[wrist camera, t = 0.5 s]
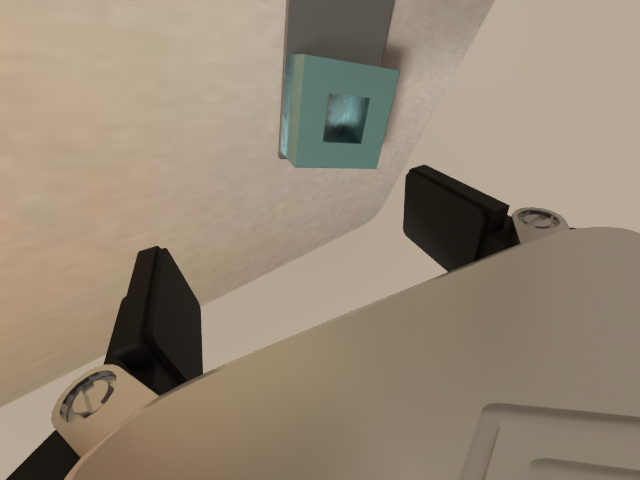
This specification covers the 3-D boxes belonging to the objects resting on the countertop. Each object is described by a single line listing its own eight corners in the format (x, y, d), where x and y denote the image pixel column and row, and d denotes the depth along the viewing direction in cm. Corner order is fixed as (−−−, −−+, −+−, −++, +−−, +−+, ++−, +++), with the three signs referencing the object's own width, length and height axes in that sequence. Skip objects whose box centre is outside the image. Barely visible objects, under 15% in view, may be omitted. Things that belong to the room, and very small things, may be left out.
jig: (296, -188, 23) (323, -249, 18) (414, -129, 27) (460, -166, 23) (278, 156, 37) (290, 171, 33) (357, 158, 42) (378, 172, 37)
